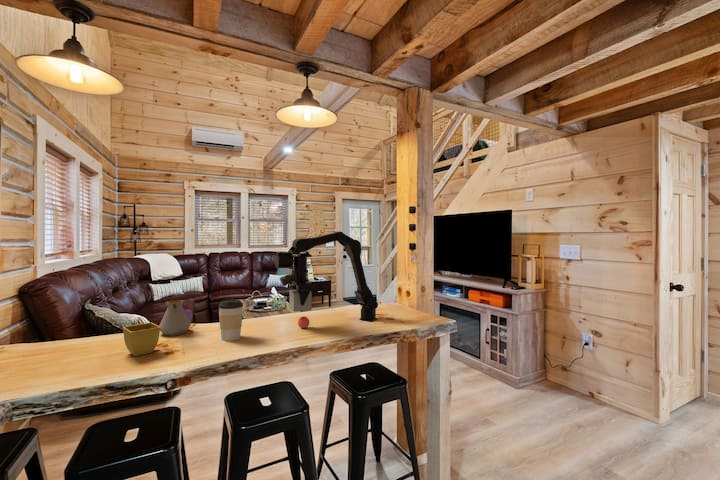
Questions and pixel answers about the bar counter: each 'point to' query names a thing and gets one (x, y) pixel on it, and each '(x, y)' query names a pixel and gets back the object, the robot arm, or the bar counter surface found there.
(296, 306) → the grey cube
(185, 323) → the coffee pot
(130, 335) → the flower pot
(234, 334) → the coffee cup
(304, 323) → the ball
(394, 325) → the bar counter surface
